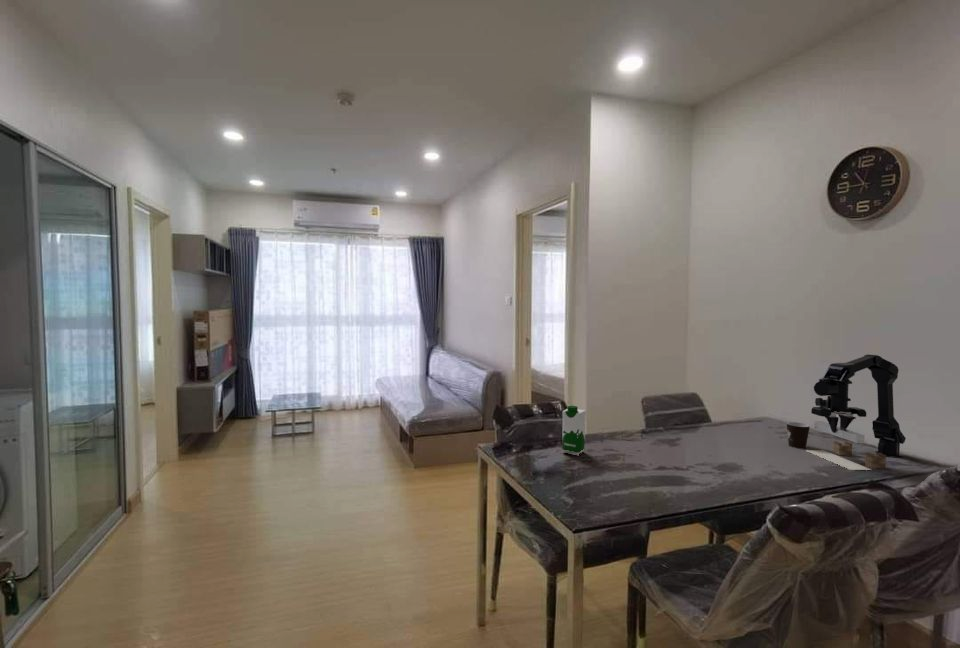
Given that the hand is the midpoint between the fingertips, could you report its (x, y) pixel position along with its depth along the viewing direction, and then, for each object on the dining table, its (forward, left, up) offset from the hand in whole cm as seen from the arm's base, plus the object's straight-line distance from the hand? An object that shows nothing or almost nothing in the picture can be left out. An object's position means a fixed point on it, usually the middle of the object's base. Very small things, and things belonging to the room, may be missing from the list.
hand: (837, 432), depth 187 cm
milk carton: (+107, -6, -12) cm, 108 cm away
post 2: (-9, +8, -11) cm, 17 cm away
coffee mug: (+2, -20, -12) cm, 23 cm away
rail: (0, 0, -1) cm, 1 cm away
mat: (0, 0, -11) cm, 11 cm away
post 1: (-9, -8, -11) cm, 17 cm away
